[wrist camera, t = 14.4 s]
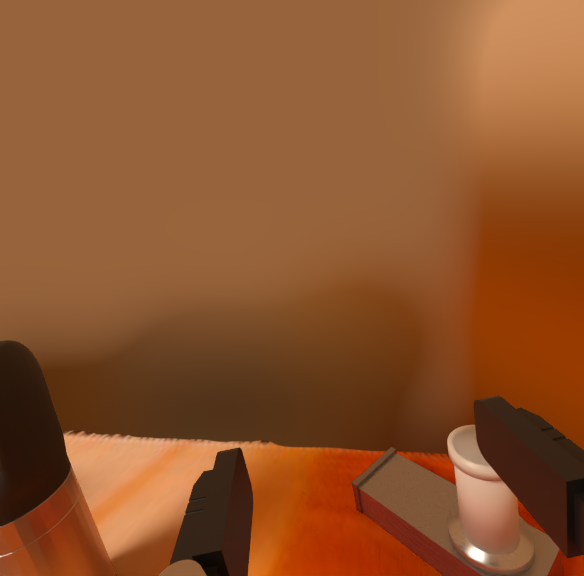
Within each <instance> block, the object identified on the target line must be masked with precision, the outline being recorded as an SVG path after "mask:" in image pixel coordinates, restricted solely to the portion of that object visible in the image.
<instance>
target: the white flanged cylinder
mask: <svg viewBox="0 0 584 576" xmlns="http://www.w3.org/2000/svg"><path fill="white" fill-rule="evenodd" d="M447 442H448V452H449V457H450V459H451V461H452V463H453V464H454V468H455V478H456V487H457V497H458V507H459V516H460V526H461V530H462V532H463V534H464V536H465V537H466V539H467V540H468V541H469V542H470V543H471V544H472V545H473V546H475V547H476V548H478V549H479V550H481V551H483V552H486V553H488V554H492V555H507V554H510V553H512V552H514V551H515V550H516V549H517V548H518V546H519V543H520V532H519V513H518V499H517V497H516V496H515V495H514V494H513V493H512V491H511V490H510V489H509V488H508V487H507V485H506V484H505V483H504V482H503V481H502V479H501V478H500V477H499V476H498V475H497V473H496V472H495V471H494V470H493V469H492V467H491V466H490V465H489V464H488V463H487V462H486V460H485V459H484V457H483V456H482V454H481V452H480V450H479V447H478V444H477V440H476V429H475V425H467V426H462V427H459V428H457V429H455V430H454V431H452V432H451V434H450V435H449V437H448V440H447Z"/></svg>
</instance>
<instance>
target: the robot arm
mask: <svg viewBox="0 0 584 576" xmlns="http://www.w3.org/2000/svg"><path fill="white" fill-rule="evenodd" d="M474 417H475V429H476V440H477V444H478V447H479V450H480V452H481V454H482V456H483V457H484V459H485V460H486V462H487V463H488V464H489V465H490V466H491V467H492V469H493V470H494V471H495V472H496V473H497V475H498V476H499V477H500V478H501V479H502V481H503V482H504V483H505V484H506V485H507V487H508V488H509V489H510V490H511V491H512V493H513V494H514V495H515V496H516V497H517V499H518V500H519V501H520V502H521V503H522V504H523V506H524V507H525V508H526V509H527V510H528V512H529V513H530V514H531V515H532V516H533V518H534V519H535V520H536V521H537V522H538V524H539V525H540V526H541V527H542V528H543V530H544V531H545V532H546V533H547V534H548V536H549V537H550V538H551V539H552V540H553V541H554V543H555V544H556V545H557V546H558V547H559V549H560V550H561V551H562V552H563V553H564V555H565V556H566V557H567V558H570V557H575V556H580V555H584V450H582V449H581V448H580V447H578V446H577V445H576V444H574V443H573V442H572V441H571V440H569V439H566V437H565V436H564V435H563V434H562V433H560V432H559V431H558V430H557V429H554V428H553V426H551V425H550V424H549V423H548V422H546V421H545V420H544V419H543V418H541V417H540V416H538V415H536V414H533V413H531V412H529V411H527V410H525V409H522V408H518V409H515V408H514V407H513V406H512V405H510V404H509V403H508V402H507V401H505V400H504V399H503V398H502V397H500V396H494V397H489V398H484V399H480V400H475V402H474ZM185 513H186V515H185V516H184V519H183V522H182V525H181V529H180V532H179V535H178V539H177V542H176V545H175V548H174V552H173V555H172V558H171V562H170V565H169V566H168V567H167V568H165V569H164V570H163V571H162V572H161V573H160V574H159V575H158V576H248V563H249V551H250V538H251V526H252V513H253V493H252V487H251V482H250V479H249V475H248V471H247V468H246V464H245V460H244V456H243V453H242V450H241V448H235V449H230V450H225V451H220V452H218V453H217V456H216V460H215V464H214V468H213V470H209V471H204V472H203V473H202V474H201V476H200V477H199V479H198V480H197V481H196V483H195V484H194V486H193V489H192V492H191V496H190V499H189V503H188V506H187V509H186V512H185ZM0 576H116V573H115V571H114V569H113V566H112V564H111V561H110V559H109V556H108V553H107V551H106V549H105V546H104V544H103V541H102V539H101V537H100V534H99V532H98V529H97V527H96V524H95V522H94V520H93V517H92V515H91V512H90V510H89V507H88V505H87V503H86V500H85V498H84V495H83V493H82V490H81V488H80V486H79V484H78V481H77V479H76V476H75V474H74V471H73V469H72V467H71V464H70V461H69V459H68V456H67V453H66V447H65V442H64V436H63V432H62V429H61V426H60V424H59V421H58V418H57V415H56V412H55V409H54V406H53V403H52V400H51V397H50V394H49V391H48V387H47V384H46V381H45V378H44V375H43V373H42V370H41V368H40V366H39V363H38V362H37V359H36V358H35V357H34V355H33V354H32V352H31V351H30V350H29V349H28V348H27V347H26V346H24V345H23V344H21V343H19V342H16V341H0Z"/></svg>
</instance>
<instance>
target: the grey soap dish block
mask: <svg viewBox="0 0 584 576" xmlns="http://www.w3.org/2000/svg"><path fill="white" fill-rule="evenodd" d="M352 486H353V491H354V496H355V502H356V507H357V510H358V511H359V512H361V513H362V512H363V513H364V514H365V515H367V516H368V517H369V518H371V519H372V520H373V521H374V522H376V523H377V524H378V525H380V526H381V527H382V528H383V529H385V530H386V531H387V532H389V533H390V534H391V535H392V536H394V537H395V538H396V539H398V540H399V541H400V542H401V543H403V544H404V545H405V546H406V547H408V548H409V549H410V550H412V551H413V552H414V553H415V554H417V555H418V556H419V557H421V558H422V559H423V560H424V561H426V562H427V563H428V564H430V565H431V566H432V567H433V568H435V569H436V570H437V571H439V572H440V573H441V574H442V575H444V576H562V575H563V552H562V551H561V550H560V549H559V547H558V546H557V545H556V544H555V543H554V541H553V540H552V539H551V538H550V537H549V536H548V535H547V534H545V533H544V532H542V531H540V530H538V529H536V528H534V527H532V526H531V525H529V524H527V523H526V522H525V521H524V519H523V518H522V517H521V516H520V515H519V532H520V543H519V546H518V548H517V549H516V550H515V551H514V552H512V553H510V554H507V555H492V554H488V553H486V552H483V551H481V550H479V549H478V548H476V547H475V546H473V545H472V544H471V543H470V542H469V541H468V540H467V539H466V537H465V536H464V534H463V532H462V530H461V526H460V516H459V507H458V497H457V487H456V485H455V484H453V483H451V482H449V481H447V480H445V479H444V478H442V477H440V476H438V475H436V474H434V473H433V472H431V471H429V470H427V469H425V468H423V467H421V466H420V465H418V464H416V463H414V462H412V461H410V460H408V459H407V458H405V457H403V456H401V455H399V454H397V452H396V449H394V448H393V447H391V448H390V449H389V450H387V451H386V452H385V453H384V454H383V455H382V456H381V457H380V458H379V459H377V460H376V461H375V462H374V463H373V464H372V465H371V466H370V467H369V468H367V469H366V470H365V471H364V472H363V473H362V474H361V475H360V476H359V477H357V478H356V479H355V480H354V481H353V482H352Z"/></svg>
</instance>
